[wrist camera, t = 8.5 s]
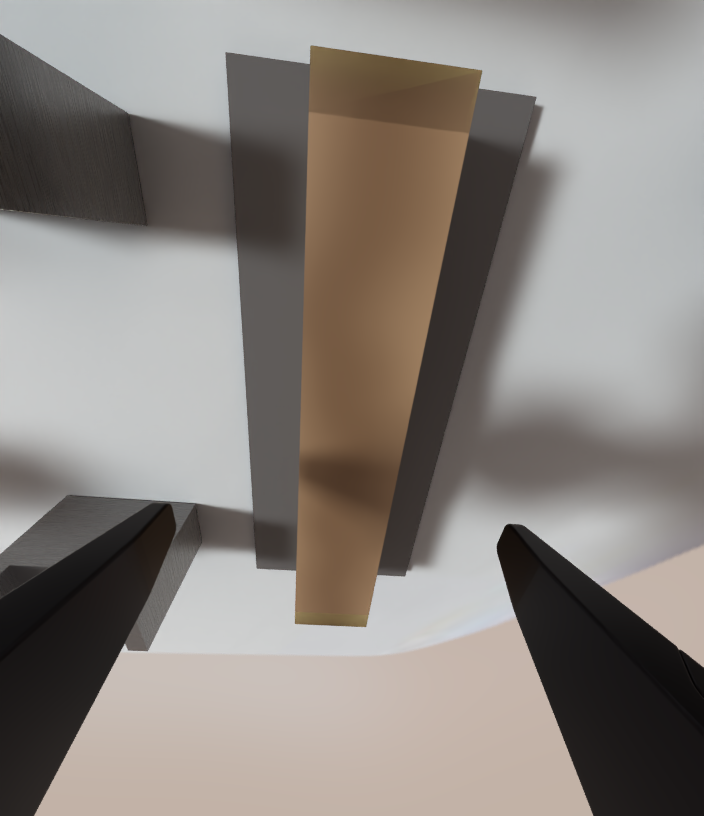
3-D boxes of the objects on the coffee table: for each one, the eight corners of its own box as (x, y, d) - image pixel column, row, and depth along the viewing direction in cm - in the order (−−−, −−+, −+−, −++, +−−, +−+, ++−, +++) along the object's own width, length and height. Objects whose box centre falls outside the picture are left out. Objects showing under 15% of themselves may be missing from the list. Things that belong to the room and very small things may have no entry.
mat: (529, 102, 10) (536, 96, 9) (403, 570, 19) (405, 576, 19) (230, 60, 9) (225, 52, 9) (258, 562, 19) (256, 568, 19)
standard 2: (195, 503, 17) (132, 609, 12) (201, 542, 18) (147, 650, 13) (66, 495, 16) (-53, 600, 11) (83, 535, 18) (-18, 644, 13)
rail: (438, 129, 9) (482, 70, 6) (362, 563, 19) (365, 626, 15) (323, 113, 9) (310, 45, 6) (303, 560, 18) (294, 623, 15)
